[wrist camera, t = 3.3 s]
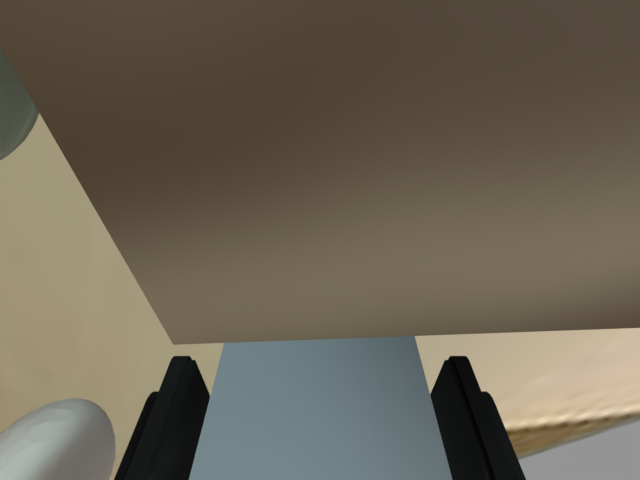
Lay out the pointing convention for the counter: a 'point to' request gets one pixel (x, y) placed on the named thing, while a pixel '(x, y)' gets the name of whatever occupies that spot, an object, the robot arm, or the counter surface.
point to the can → (13, 109)
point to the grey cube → (321, 413)
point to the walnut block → (352, 159)
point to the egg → (59, 443)
